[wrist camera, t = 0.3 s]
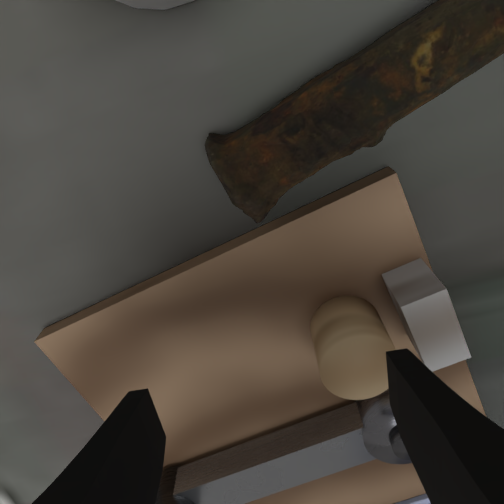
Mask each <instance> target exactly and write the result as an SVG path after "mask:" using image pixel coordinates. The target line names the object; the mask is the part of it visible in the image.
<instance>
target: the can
mask: <svg viewBox="0 0 504 504" xmlns="http://www.w3.org/2000/svg"><path fill="white" fill-rule="evenodd" d="M115 1H118V2H120V3H123V4H125V5H128V6H130V7H133V8H139V9H157V10H167V9H170V8H173V7H176V6H179V5H183V4H186V3H189V2H192V1H195V0H115Z"/></svg>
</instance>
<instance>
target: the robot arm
mask: <svg viewBox="0 0 504 504" xmlns="http://www.w3.org/2000/svg"><path fill="white" fill-rule="evenodd" d="M386 362H387V374H388V387H389V400H390V406H391V409H392V413H393V416H394V419H395V422H396V425H397V428H398V431H399V434H400V437H401V439H402V441H403V444H404V446H405V448H406V450H407V452H408V455H409V457H410V459H411V461H412V464H413V466H414V468H415V470H416V472H417V474H418V477H419V479H420V481H421V483H422V485H423V487H424V490H425V492H426V494H423V495H420V496H417V497H413V498H410V499H407V500H404V501H401V502H398V503H394V504H504V429H502V428H501V427H500V426H498V425H497V424H495V423H494V422H493V421H491V420H490V419H489V418H487V417H486V416H485V415H483V414H482V413H481V412H479V411H478V410H477V409H475V408H474V407H473V406H472V405H470V404H469V403H468V402H467V401H465V400H464V399H463V398H462V397H461V396H459V395H458V394H457V393H456V392H455V391H453V390H452V389H451V388H450V387H449V386H448V385H446V384H445V383H444V382H443V381H442V380H441V379H440V378H439V377H437V376H436V375H435V374H434V373H433V372H432V371H431V370H430V369H429V368H428V367H427V366H426V365H425V364H423V363H422V362H421V361H420V360H419V359H418V358H417V357H416V356H415V355H414V354H413V353H412V352H411V351H410V350H409V349H407V348H406V349H399V350H393V351H386ZM165 445H166V435H165V432H164V430H163V427H162V424H161V422H160V419H159V416H158V414H157V411H156V408H155V406H154V403H153V401H152V398H151V395H150V393H149V390H148V388H147V389H141V390H134V391H129V392H128V393H127V394H126V395H125V396H124V398H123V399H122V400H121V401H120V403H119V404H118V405H117V407H116V408H115V409H114V410H113V412H112V413H111V414H110V415H109V417H108V418H107V419H106V421H105V422H104V423H103V424H102V426H101V427H100V428H99V429H98V431H97V432H96V433H95V434H94V435H93V437H92V438H91V439H90V440H89V442H88V443H87V444H86V445H85V447H84V448H83V449H82V450H81V451H80V452H79V453H78V455H77V456H76V457H75V458H74V459H73V460H72V461H71V463H70V464H69V465H68V466H67V467H66V468H65V469H64V471H63V472H62V473H61V474H60V475H59V476H58V477H57V478H56V479H55V481H54V482H53V483H52V484H51V485H50V486H49V487H48V488H47V489H46V490H45V491H44V492H43V493H42V494H41V495H40V496H39V497H38V498H37V499H36V500H35V501H34V502H33V503H32V504H155V502H156V498H157V494H158V489H159V485H160V480H161V476H162V471H163V464H164V455H165Z"/></svg>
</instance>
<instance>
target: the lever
mask: <svg viewBox="0 0 504 504" xmlns="http://www.w3.org/2000/svg"><path fill="white" fill-rule="evenodd" d="M375 459H378V460H380V461H383V462H386V463H390V464H409V463H412V461H411V459H410V457H409V455H408V452H407V450H406V448H405V446H404V444H403V441H402V439H401V437H400V434H399V431H398V428H397V425H396V422H395V419H394V416H393V413H392V409H391V406H390V400H389V388H388V389H387V390H386V391H384V392H383V393H381V394H379V395H377V396H375V397H372V398H368V399H363V400H355V402H354V403H352V404H349V405H346V406H344V407H341V408H338V409H336V410H333V411H330V412H327V413H325V414H322V415H319V416H317V417H314V418H311V419H308V420H306V421H303V422H300V423H298V424H295V425H292V426H289V427H287V428H284V429H281V430H279V431H276V432H273V433H270V434H268V435H265V436H262V437H260V438H257V439H254V440H251V441H249V442H246V443H243V444H241V445H238V446H235V447H232V448H230V449H227V450H224V451H222V452H219V453H216V454H213V455H211V456H208V457H205V458H203V459H200V460H197V461H194V462H192V463H189V464H186V465H184V466H174V467H169V468H167V469H165V470H163V471H162V476H161V480H160V485H159V489H158V494H157V498H156V502H155V504H245V503H248V502H251V501H254V500H257V499H260V498H263V497H266V496H268V495H271V494H274V493H277V492H280V491H283V490H286V489H289V488H292V487H295V486H298V485H301V484H304V483H307V482H310V481H313V480H316V479H319V478H322V477H325V476H328V475H330V474H333V473H336V472H339V471H342V470H345V469H348V468H351V467H354V466H357V465H360V464H363V463H366V462H369V461H372V460H375Z"/></svg>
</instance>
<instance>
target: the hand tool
mask: <svg viewBox="0 0 504 504" xmlns="http://www.w3.org/2000/svg"><path fill="white" fill-rule="evenodd" d="M503 53H504V0H438V1H437V2H435V3H434V4H432V5H431V6H429V7H427V8H426V9H424V10H423V11H421V12H419V13H418V14H416V15H415V16H413V17H412V18H410V19H408V20H407V21H405V22H403V23H402V24H400V25H399V26H397V27H395V28H394V29H392V30H391V31H389V32H388V33H386V34H385V35H383V36H382V37H381V38H379V39H378V40H377V41H376V42H374V43H373V44H371V45H370V46H368V47H367V48H365V49H363V50H362V51H360V52H359V53H357V54H355V55H354V56H352V57H351V58H349V59H348V60H346V61H344V62H341V63H339V64H337V65H335V66H334V67H333V68H332V69H330V70H328V71H326V72H324V73H322V74H320V75H318V76H317V77H315V78H314V79H312V80H311V81H309V82H308V83H306V84H305V85H303V86H302V87H301V88H300V89H299V90H297V91H296V92H294V93H292V94H291V95H289V96H288V97H286V98H285V99H283V100H282V101H281V102H280V103H279V104H278V106H276V107H275V108H273V109H271V110H270V111H268V112H266V113H265V114H263V115H262V116H260V117H259V118H257V119H256V120H254V121H252V122H251V123H249V124H247V125H245V126H244V127H242V128H241V129H239V130H237V131H236V132H233V133H230V134H226V135H220V134H214V133H209V137H207V140H206V142H205V149H206V152H207V156H208V159H209V162H210V165H211V166H212V168H213V170H214V171H215V173H216V175H217V176H218V178H219V180H220V181H221V183H222V185H223V187H224V188H225V190H226V192H227V194H228V196H229V198H230V200H231V201H232V203H233V204H234V205H235V206H236V207H238V208H240V209H242V210H243V212H244V213H245V214H247V215H248V216H250V217H251V218H252V219H253V220H254V221H255V222H256V223H259V222H261V221H262V220H263V219H264V218H265V217H266V215H267V214H268V212H269V211H270V209H271V208H272V207H273V206H275V205H276V203H277V201H278V199H279V198H280V197H281V196H283V195H284V194H285V193H286V192H287V190H289V189H290V188H292V187H293V186H295V185H296V184H298V183H300V182H302V181H303V180H305V179H306V178H308V177H310V176H312V175H314V174H315V173H316V172H317V171H319V170H320V169H322V168H324V167H325V166H327V165H328V164H330V163H331V162H333V161H335V160H337V159H340V158H342V157H345V156H348V155H351V154H352V153H353V152H354V151H356V150H358V149H360V148H361V147H373V146H376V145H377V144H378V143H379V142H381V141H382V139H383V137H384V135H385V133H386V130H387V129H388V128H389V127H390V126H391V125H392V124H394V123H395V122H397V121H398V120H400V119H401V118H403V117H405V116H406V115H408V114H409V113H411V112H413V111H414V110H416V109H417V108H419V107H420V106H422V105H424V104H425V103H427V102H429V101H430V100H432V99H434V98H435V97H437V96H439V95H440V94H442V93H443V92H445V91H446V90H448V89H449V88H451V87H452V86H453V85H455V84H456V83H458V82H459V81H461V80H463V79H464V78H466V77H468V76H469V75H471V74H473V73H474V72H476V71H477V70H479V69H480V68H482V67H483V66H485V65H486V64H488V63H489V62H491V61H492V60H494V59H495V58H497V57H499V56H500V55H502V54H503Z"/></svg>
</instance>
